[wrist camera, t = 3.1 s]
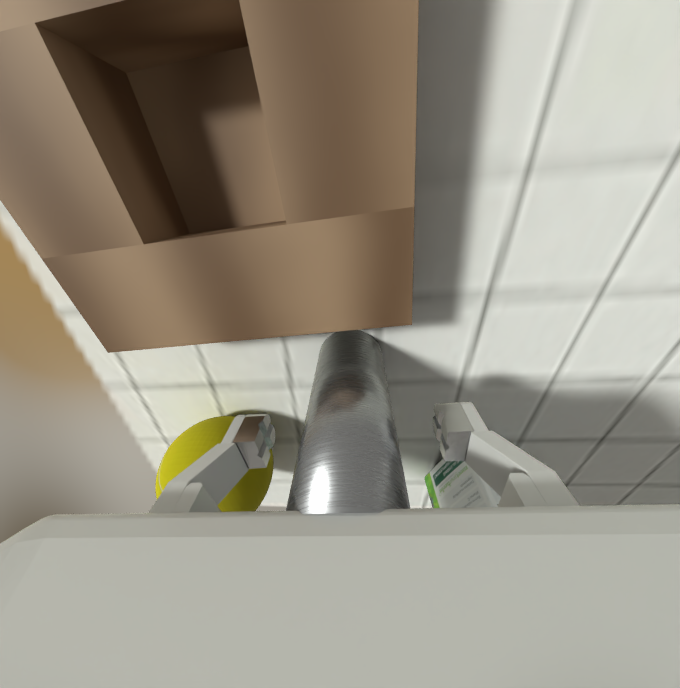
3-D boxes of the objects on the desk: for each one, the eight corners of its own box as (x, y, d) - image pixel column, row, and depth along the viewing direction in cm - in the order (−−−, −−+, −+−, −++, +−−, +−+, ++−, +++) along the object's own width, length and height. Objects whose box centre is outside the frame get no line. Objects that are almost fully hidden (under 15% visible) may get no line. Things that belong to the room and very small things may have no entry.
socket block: (391, -207, 7) (431, -629, 3) (397, 292, 14) (411, 324, 10) (-42, -73, 8) (-332, -271, 5) (163, 317, 15) (108, 352, 12)
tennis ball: (182, 397, 19) (100, 493, 13) (273, 395, 18) (234, 494, 12) (212, 456, 22) (160, 553, 16) (290, 456, 22) (265, 556, 16)
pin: (380, 326, 15) (418, 505, 6) (383, 379, 17) (414, 569, 8) (314, 332, 15) (265, 508, 7) (324, 383, 17) (296, 568, 9)
